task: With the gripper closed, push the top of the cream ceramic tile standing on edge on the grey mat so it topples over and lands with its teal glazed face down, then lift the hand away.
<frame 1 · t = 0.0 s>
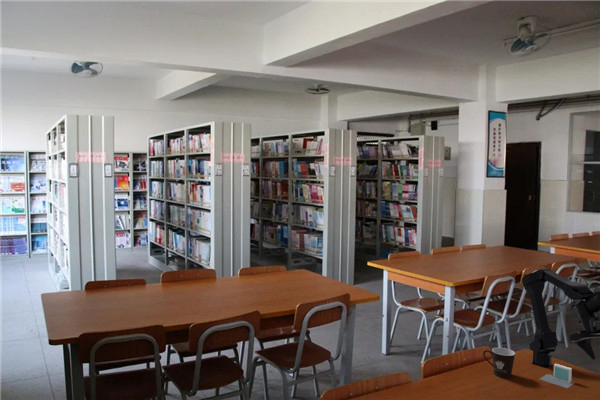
coffee mug: (499, 374, 194), on the table
mat: (556, 381, 188), on the table
tile: (562, 379, 188), resting on mat
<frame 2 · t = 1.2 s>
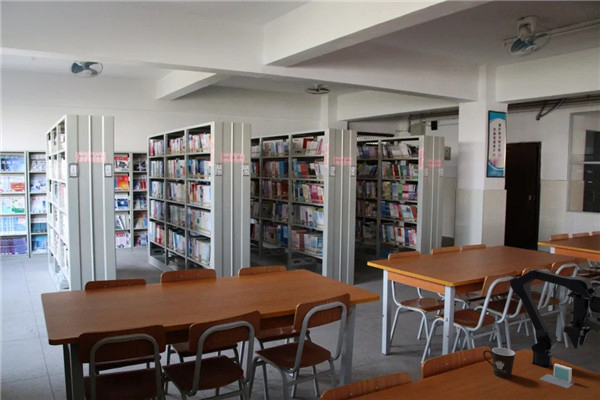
hand: (578, 346, 193), 12 cm above the table, tool pointing down, fingers open, 6 cm apart
nothing on the table moved.
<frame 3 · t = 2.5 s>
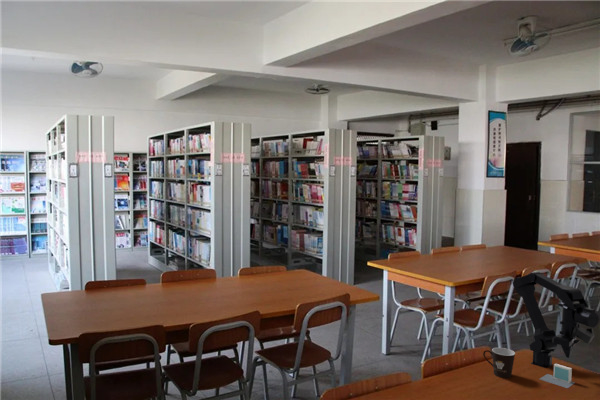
hand: (568, 357, 192), 8 cm above the table, tool pointing down, fingers closed
nothing on the table moved.
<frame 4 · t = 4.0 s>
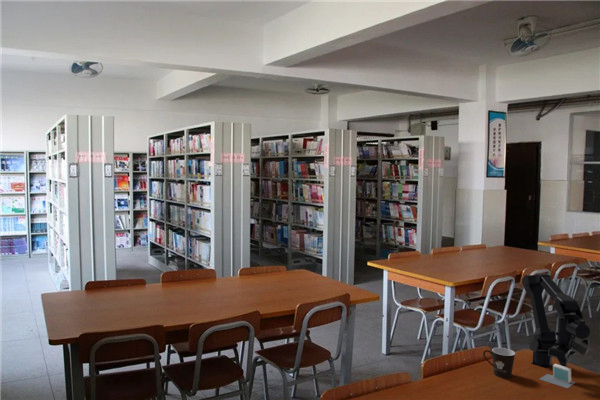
hand: (563, 369, 189), 5 cm above the table, tool pointing down, fingers closed
tile: (562, 379, 188), point 1 cm above the table, tilted 10°, touching mat
everything else where it was.
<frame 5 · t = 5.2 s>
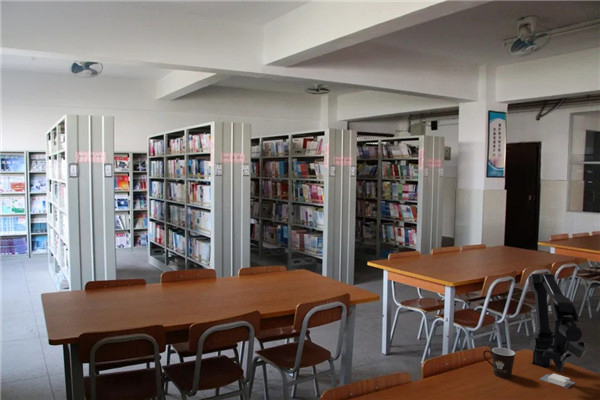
hand: (559, 371, 186), 5 cm above the table, tool pointing down, fingers closed
tile: (561, 378, 188), point 1 cm above the table, tilted 90°, touching mat
everything else where it was.
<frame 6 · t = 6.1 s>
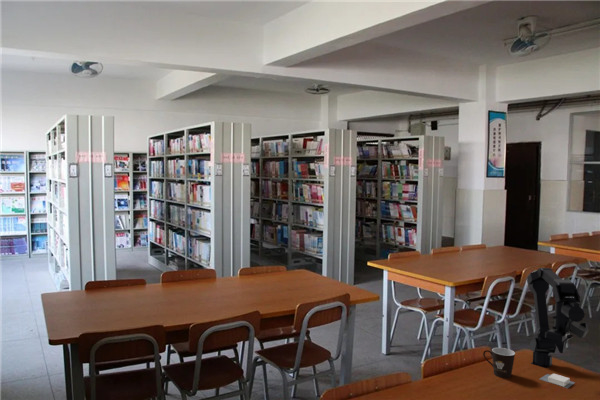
hand: (561, 352, 186), 12 cm above the table, tool pointing down, fingers closed
nothing on the table moved.
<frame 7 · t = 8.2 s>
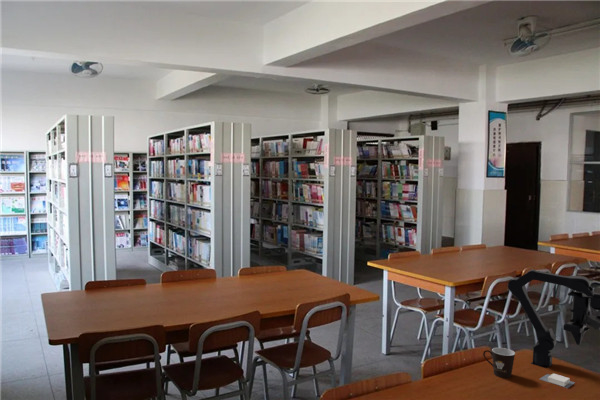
hand: (578, 344, 196), 12 cm above the table, tool pointing down, fingers closed
nothing on the table moved.
at the end: tile tilted 90°; tile inside the target area (2.0 cm from its centre), point 1.4 cm above the table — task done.
